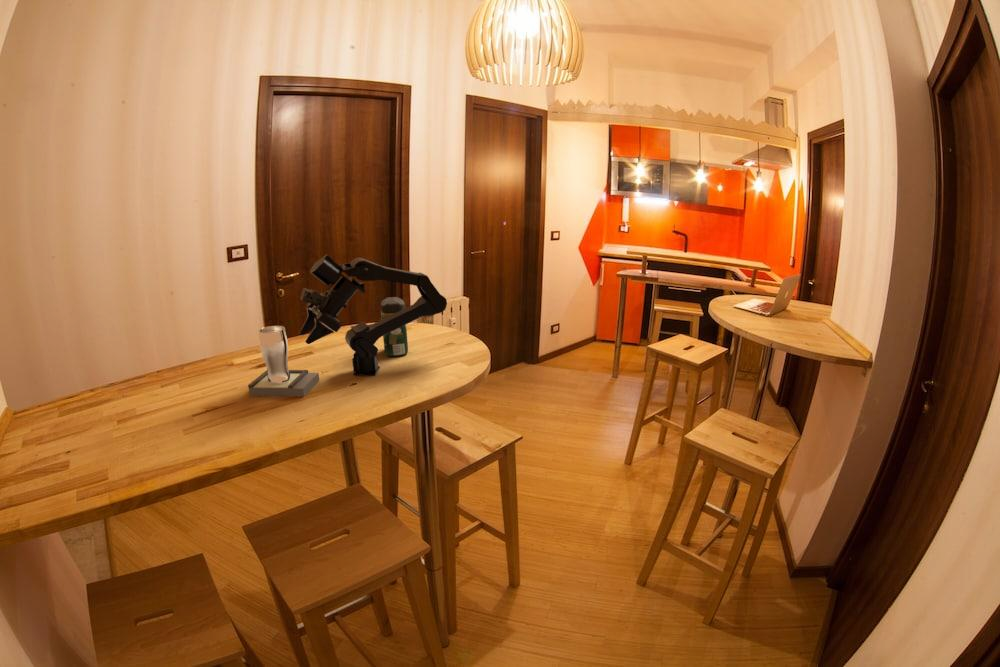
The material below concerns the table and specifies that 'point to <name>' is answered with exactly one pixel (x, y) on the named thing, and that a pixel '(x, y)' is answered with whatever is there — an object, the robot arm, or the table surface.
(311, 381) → the dock
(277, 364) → the beer glass
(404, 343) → the coffee jar
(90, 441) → the table surface
